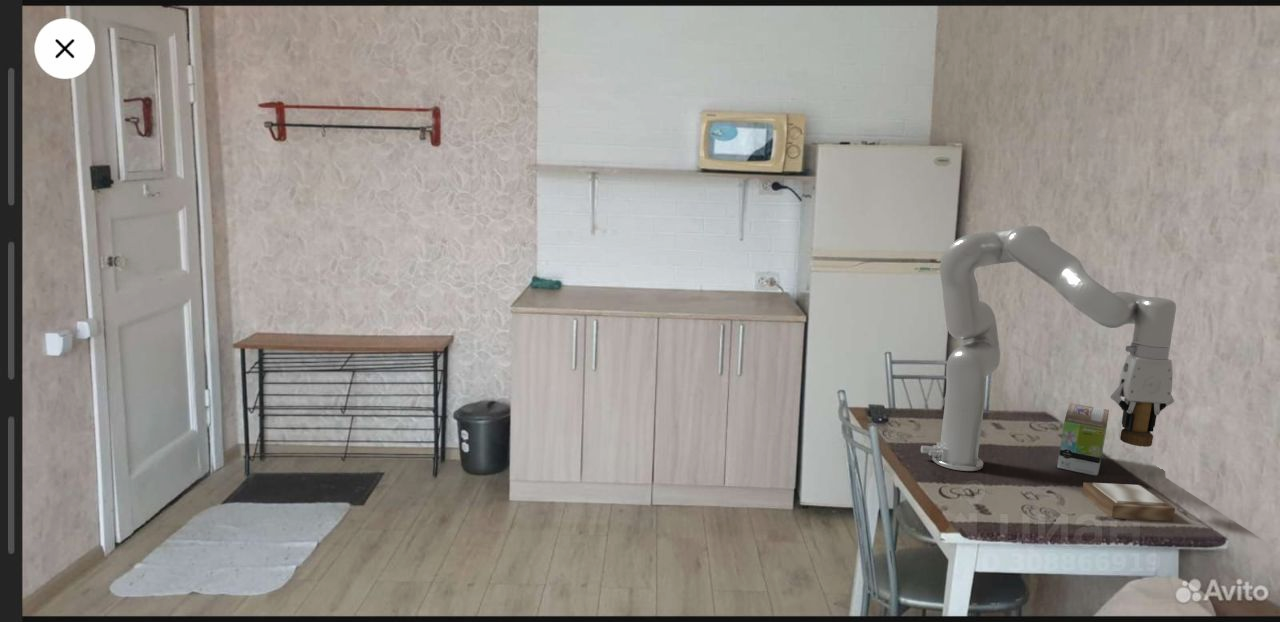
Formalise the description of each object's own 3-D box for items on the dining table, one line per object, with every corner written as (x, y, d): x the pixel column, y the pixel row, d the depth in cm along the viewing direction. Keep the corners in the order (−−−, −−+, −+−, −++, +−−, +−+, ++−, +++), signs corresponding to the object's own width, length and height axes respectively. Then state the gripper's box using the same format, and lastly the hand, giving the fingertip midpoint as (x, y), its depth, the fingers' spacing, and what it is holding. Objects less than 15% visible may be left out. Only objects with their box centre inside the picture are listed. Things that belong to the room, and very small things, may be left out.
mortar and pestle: (1157, 447, 202) (1169, 370, 199) (1129, 446, 202) (1140, 369, 199) (1142, 438, 209) (1153, 363, 206) (1114, 436, 209) (1125, 362, 206)
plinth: (1111, 517, 202) (1113, 502, 201) (1081, 494, 215) (1083, 480, 215) (1173, 520, 202) (1175, 505, 201) (1139, 497, 216) (1141, 482, 215)
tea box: (1099, 477, 228) (1107, 421, 226) (1056, 468, 233) (1064, 414, 230) (1101, 460, 241) (1109, 408, 239) (1061, 452, 246) (1068, 401, 243)
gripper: (1121, 353, 198) (1109, 432, 201) (1196, 357, 198) (1183, 436, 202) (1104, 346, 206) (1093, 422, 209) (1176, 350, 206) (1164, 426, 209)
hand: (1137, 428), depth 205 cm, fingers closed on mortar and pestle, 4 cm apart
